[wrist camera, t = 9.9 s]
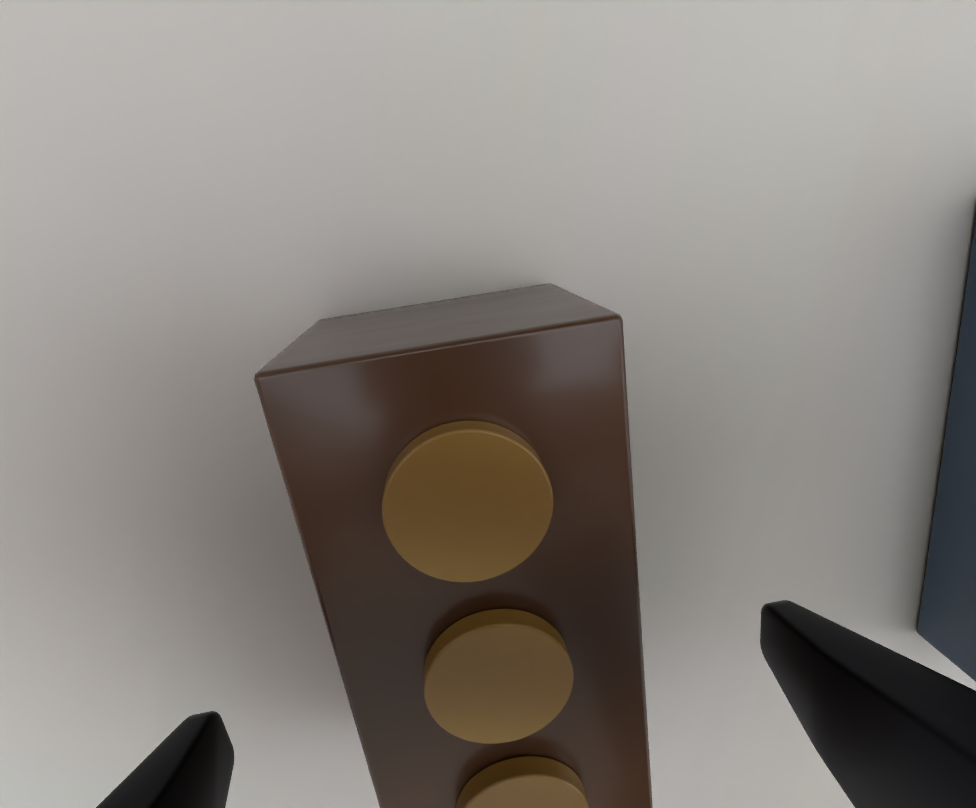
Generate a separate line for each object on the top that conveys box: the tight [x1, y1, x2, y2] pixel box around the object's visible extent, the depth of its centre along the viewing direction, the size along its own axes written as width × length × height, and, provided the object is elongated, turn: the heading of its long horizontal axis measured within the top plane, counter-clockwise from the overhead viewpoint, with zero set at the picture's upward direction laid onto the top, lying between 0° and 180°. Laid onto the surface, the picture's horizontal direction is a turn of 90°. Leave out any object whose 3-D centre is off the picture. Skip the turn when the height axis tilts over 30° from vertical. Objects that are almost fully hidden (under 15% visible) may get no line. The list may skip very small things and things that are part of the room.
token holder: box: [254, 284, 653, 808], centre depth 11 cm, size 11×5×5 cm, turn 8°
